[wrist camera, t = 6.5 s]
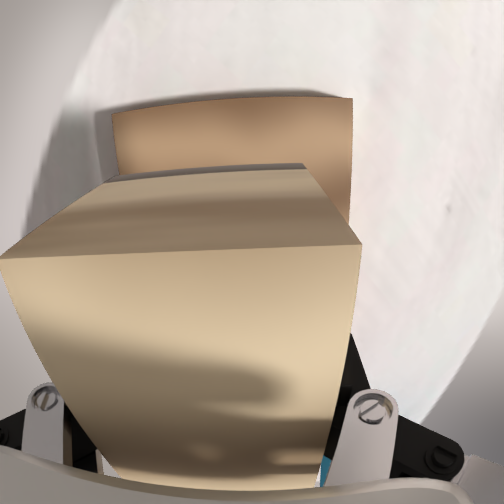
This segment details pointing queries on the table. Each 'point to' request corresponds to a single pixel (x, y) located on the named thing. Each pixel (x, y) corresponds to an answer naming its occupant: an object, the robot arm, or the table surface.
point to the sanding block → (195, 321)
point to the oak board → (243, 137)
